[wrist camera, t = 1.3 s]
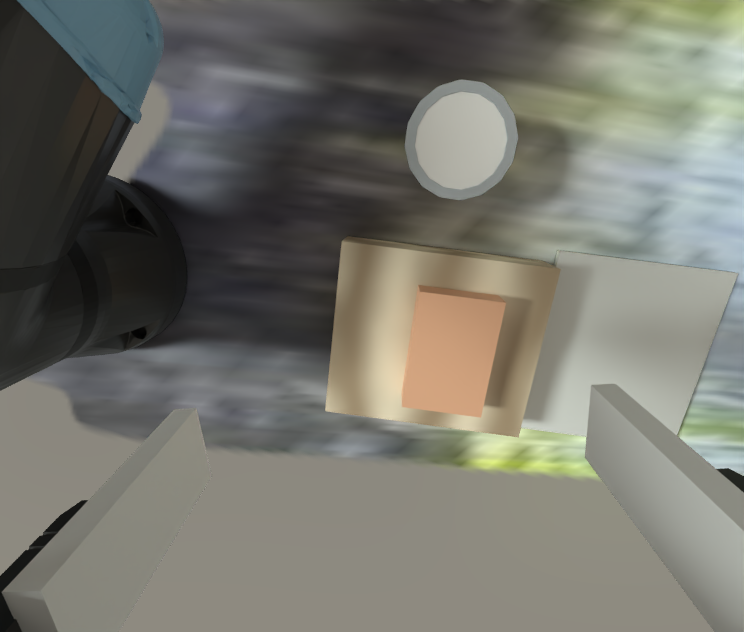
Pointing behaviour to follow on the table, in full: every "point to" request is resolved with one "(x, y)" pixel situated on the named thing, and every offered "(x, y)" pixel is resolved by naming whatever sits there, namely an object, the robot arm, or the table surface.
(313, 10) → the table surface
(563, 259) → the grey mat
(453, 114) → the shot glass
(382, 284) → the board
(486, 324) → the terracotta block
